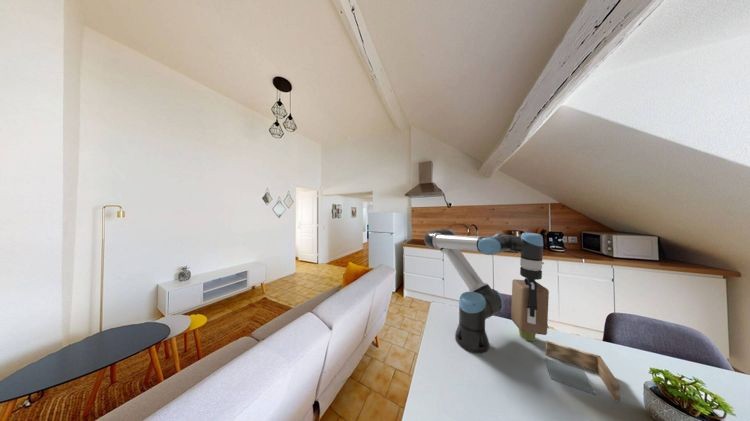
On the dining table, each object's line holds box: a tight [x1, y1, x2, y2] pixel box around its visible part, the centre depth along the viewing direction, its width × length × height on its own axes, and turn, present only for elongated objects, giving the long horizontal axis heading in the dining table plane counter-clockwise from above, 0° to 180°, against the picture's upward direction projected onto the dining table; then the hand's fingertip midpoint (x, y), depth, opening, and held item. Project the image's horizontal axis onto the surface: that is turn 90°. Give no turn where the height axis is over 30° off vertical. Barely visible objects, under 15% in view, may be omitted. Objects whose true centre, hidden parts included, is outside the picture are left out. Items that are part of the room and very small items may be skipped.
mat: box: [544, 357, 596, 396], centre depth 78 cm, size 12×12×1 cm
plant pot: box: [518, 328, 537, 342], centre depth 100 cm, size 9×9×9 cm
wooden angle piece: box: [545, 340, 621, 402], centre depth 78 cm, size 17×15×6 cm
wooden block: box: [510, 278, 550, 336], centre depth 87 cm, size 10×10×20 cm
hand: (529, 315), depth 87 cm, fingers closed on wooden block, 12 cm apart
